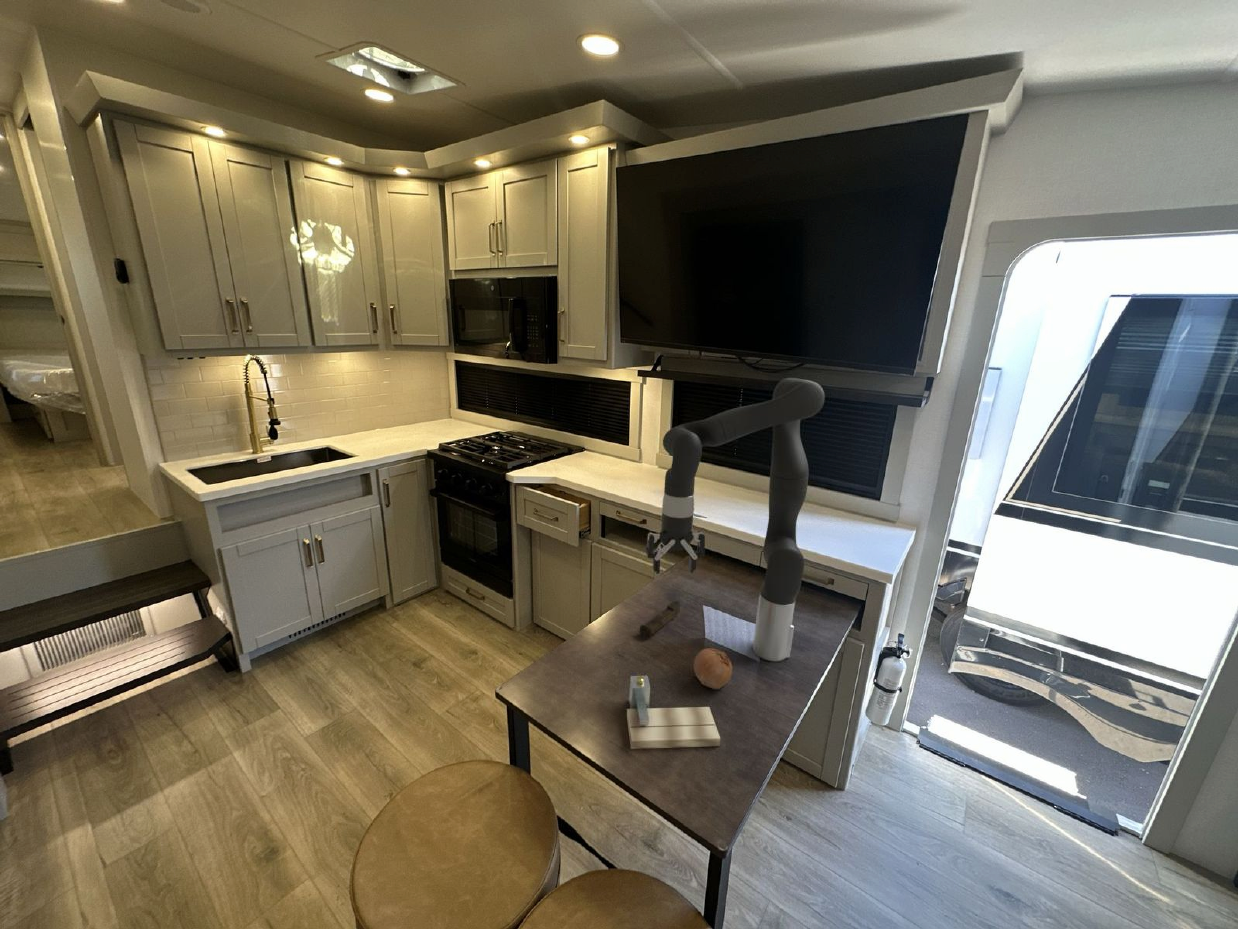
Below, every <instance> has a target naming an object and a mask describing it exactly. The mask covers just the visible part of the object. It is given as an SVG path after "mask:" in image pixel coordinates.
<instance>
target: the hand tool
mask: <svg viewBox="0 0 1238 929" xmlns="http://www.w3.org/2000/svg"><path fill="white" fill-rule="evenodd" d="M680 611H681V602H680V601H679V600H674V601H673V602H670V603H669V604H667V606H666V608H665V609H664V610H662V611H661V612H660V613H658V614H657V615H656V616H655V617H653V618H651V619H650V620H649V621H648V622H646V623H645V624H641V625H640V626H639V634H640V635H641V637H644V638H645V639H649V640H650V639H651V637H654V636H653V635H654V634H655V633H656V632H657V631H658V630H660V629H661V628H662V627H663V626H665V625H667V624H668V623H669V621H673V620H675V619H676V618H677V616H678V615H679V613H680ZM663 628H664V627H663Z"/></svg>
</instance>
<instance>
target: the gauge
mask: <svg viewBox="0 0 1238 929" xmlns="http://www.w3.org/2000/svg"><path fill="white" fill-rule="evenodd" d="M650 695H651V684H650V680H649V676H648V675H630V683H629V696H628V698H629V699H628V703H629V709H637V714H638V720H639V725H649V717H648V712H647V708H650V697H651V696H650Z"/></svg>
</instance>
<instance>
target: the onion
mask: <svg viewBox="0 0 1238 929" xmlns="http://www.w3.org/2000/svg"><path fill="white" fill-rule="evenodd" d="M693 670H694V673H695V676H696V677H697V679H698V680H699V682H700V683H701V685H703V686H704V687H707V688H710V689H712V690H713V691H714V690H720V689H721V688H722V687H724V686H725V685H727V684H728V682H730V680H731V678H732V675H733V664H732V662H731V660H730V658H729V657H728V656H727V653H725V652H724V651H721V650H720V649H716V648H712V647H711V648H710V647H709V648H708V647H707V648H703V649H701V650H700V651H699V652H698V653H697V654H696V655H695V658H694V660H693Z"/></svg>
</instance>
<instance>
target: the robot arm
mask: <svg viewBox="0 0 1238 929" xmlns="http://www.w3.org/2000/svg"><path fill="white" fill-rule="evenodd" d="M825 398H826V397H825V391H824V390H823V387H822V386H821V384H819V383H817V382H815V381H813V380H808V379H801V378H796V377H787V378H783V379H782V380H781V381H779V382H778V383H777V384H776V386H775V388H774V390H773V392H772V398H771V399H770V400H767V401H764V402H759V403H754V404H749V405H743V406H739V407H735V408H730V409H728V410H725V411H723V412H720V413H717V414H715V415H714V414H713V415H712V416H710V417H708V418H706V419H702V420H695V421H691V422H687V423H682V424H679V425H676V426H674V427H672V428H671V429H669V430H668V431H667V432H666V433H665V434H664V436H663V438H662V445H663V446H662V447H663V449H664V450H665V452H667V454H669V455H670V456H672V463H671V467H670V468H668V469H667V470H666V472H665V477H664V490H663V492H664V493H663V498H662V505H661V506H662V508H661V509H662V511H661V525H660V526H661V527H660V532H659V533H654V532H652V531H649V532H648V533H647V538H646V539H647V540H646V547H645V548H646V549H645V553H646V556H647V558H648V559H652V568H653V571H654V572H655V574H657V575H658V574H660V573H661V572H660V571H661V570H660V569H661V558H662V556H664V555H665V554H666V553H667V552H668V551H669V552H676V551H677V552H683V551H684V550H685V551H686V552H687V553H688V554H689V557H688V571H689V573H692V574H693V573H694V571H696V569H697V560H698V559H699V558H704V557H705V556H706V554H705V553H706V552H705V550H706V547H705V546H706V536H705V534H704V532H703V531H702V530H699V531H697V532H693V525H694V524H693V522H694V513H695V496H694V495H695V483H696V481H695V480H696V478H695V477H696V475H697V472H698V469H699V466H700V462H701V458H702V454H703V451H702V450H703V449H702V448H703V447H713V448H714V447H719V446H721V445H724V444H727V443H729V442H732V441H735V440H737V439H739V438H741V437H744V436H747V435H750V434H753V433H756V432H758V431H762V430H764V429H767V428H770V427H772V443H771V444H772V447H771V448H772V449H771V462H770V464H771V465H770V471H769V473H770V474H769V486H768V490H769V491H768V523H767V527H766V532H765V533H766V534H765V539H764V544H763V549H762V551H763V552H762V554H763V558H764V561H765V563H766V572H765V578H764V581H762V583H761V585H760V591H759V598H758V605H757V613H756V619H755V620H756V621H755V625H754V626H755V627H754V633H753V641H752V651H753V652H754V654H756V655H757V656H758V657H759V658H761V659H763V660H767V661H770V662H781V661H784V660H785V659H786V658H790V657H791V650H792V645H793V638H794V631H795V626H794V625H793V618H794V616H793V615H794V611H795V607H796V606H795V605H796V599H797V596H798V594H799V593H800V589H801V584H802V580H803V575H804V570H805V558H804V555H803V553H802V552H801V550H800V549H799V547H798V544H797V520H798V516H799V514H800V512H801V509H802V508H803V505H804V502H805V499H806V497H807V492H808V491H807V490H808V483H809V475H810V474H809V464H808V459H807V456H806V452H805V449H804V446H803V443H802V440H801V432H800V431H801V427H800V426H801V420H804V419H808V418H811V417H814V416H815V415H817V414H818V413H819V412H820V411H821V409H822V408H823V406H824V404H825V400H826V399H825ZM694 539H695V541H696V542H697V548H696V550H694V549H693V547H692V546H691V543H692V541H693V540H694ZM658 540H660V543H659V544H658V546H657V548H656V549H655V550H654V547H655V546H654V544H655V543H657V541H658Z"/></svg>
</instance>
